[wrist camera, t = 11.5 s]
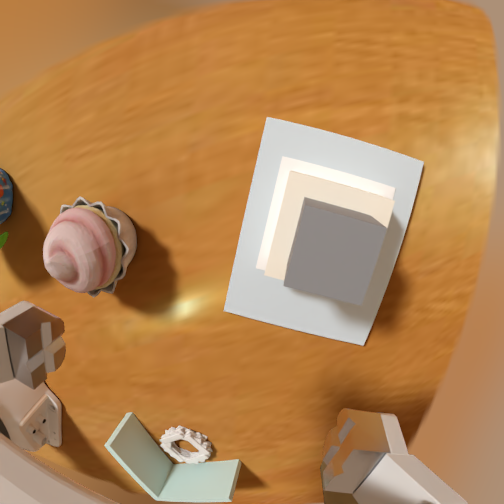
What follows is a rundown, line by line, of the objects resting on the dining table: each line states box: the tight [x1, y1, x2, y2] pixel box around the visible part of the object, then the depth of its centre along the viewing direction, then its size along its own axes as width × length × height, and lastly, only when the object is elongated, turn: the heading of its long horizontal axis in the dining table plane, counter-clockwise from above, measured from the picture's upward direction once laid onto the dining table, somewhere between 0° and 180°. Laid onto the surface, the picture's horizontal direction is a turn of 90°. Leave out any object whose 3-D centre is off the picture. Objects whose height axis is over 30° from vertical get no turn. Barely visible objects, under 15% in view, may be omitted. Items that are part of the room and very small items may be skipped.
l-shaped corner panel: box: [104, 412, 241, 502], centre depth 35 cm, size 12×12×8 cm
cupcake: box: [43, 197, 137, 297], centre depth 26 cm, size 9×9×10 cm
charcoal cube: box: [283, 197, 387, 306], centre depth 21 cm, size 5×5×5 cm
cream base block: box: [264, 171, 395, 295], centre depth 25 cm, size 8×8×4 cm
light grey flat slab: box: [224, 117, 424, 346], centre depth 28 cm, size 18×14×1 cm
